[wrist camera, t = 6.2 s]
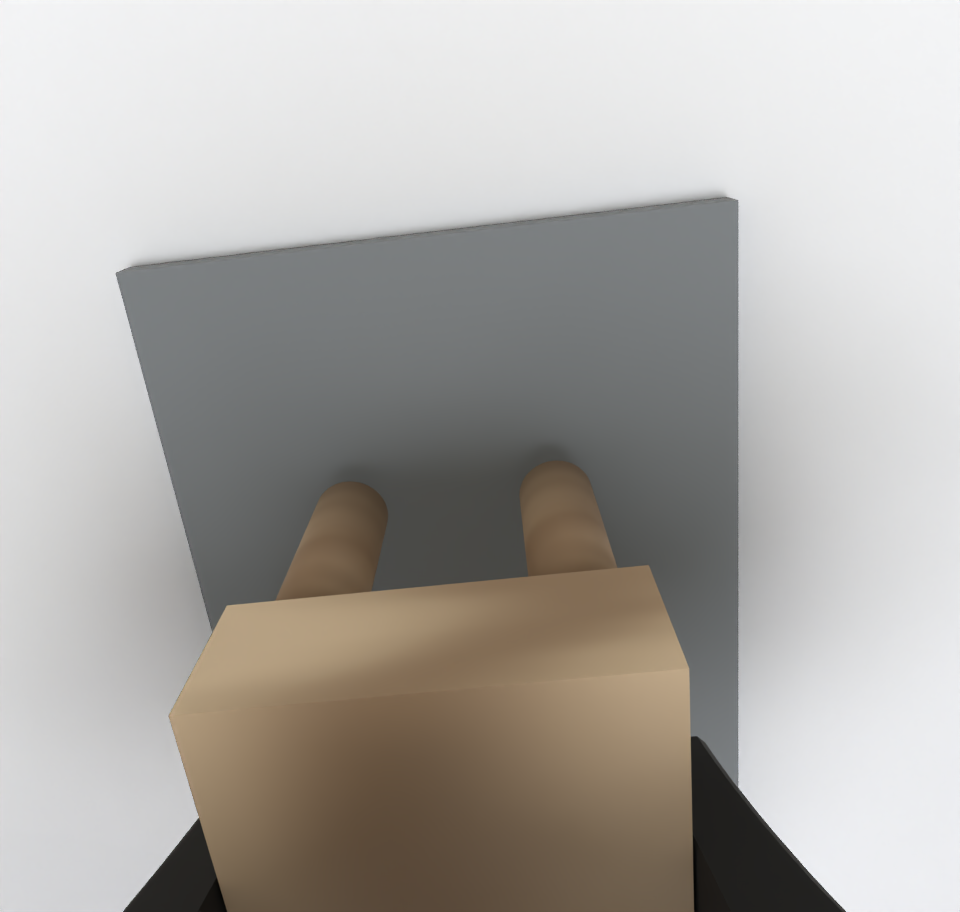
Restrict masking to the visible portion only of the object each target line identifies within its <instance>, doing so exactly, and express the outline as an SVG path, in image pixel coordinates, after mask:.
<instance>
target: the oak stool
mask: <svg viewBox="0 0 960 912" xmlns="http://www.w3.org/2000/svg"><path fill="white" fill-rule="evenodd" d="M519 497H520V507H521V516H522V525H523V533H524V542H525V551H526V560H527V569H528V577H519V578H508V579H498V580H487V581H477V582H467V583H456V584H446V585H435V586H425V587H414V588H404V589H394V590H383V591H373V592H371V591H372V587H373V582H374V578H375V574H376V569H377V565H378V561H379V556H380V552H381V548H382V543H383V539H384V535H385V530H386V526H387V522H388V510H387V506H386V504H385V502H384V500H383V498H382V497H381V495H380V494H379V493H378V492H377V491H375V490H374V489H373V488H371V487H370V486H368V485H365V484H363V483H359V482H352V481H349V482H341V483H338V484H335V485H333V486H331V487H330V488H328V489H327V490H326V491H325V492H324V493H323V494H322V495H321V497H320V498H319V500H318V503H317V505H316V507H315V510H314V512H313V514H312V517H311V519H310V521H309V524H308V526H307V528H306V530H305V533H304V535H303V537H302V540H301V542H300V544H299V547H298V549H297V551H296V554H295V556H294V558H293V561H292V563H291V565H290V568H289V570H288V572H287V575H286V577H285V579H284V581H283V584H282V586H281V588H280V591H279V593H278V595H277V598H276V600H275V601H268V602H258V603H247V604H237V605H227V606H226V608H225V610H224V612H223V614H222V616H221V618H220V619H219V621H218V623H217V625H216V627H215V629H214V631H213V633H212V635H211V637H210V638H209V640H208V642H207V644H206V646H205V648H204V650H203V652H202V654H201V655H200V657H199V659H198V661H197V663H196V665H195V667H194V669H193V671H192V672H191V674H190V676H189V678H188V680H187V682H186V684H185V686H184V688H183V689H182V691H181V693H180V695H179V697H178V699H177V701H176V703H175V705H174V707H173V708H172V710H171V712H170V714H169V719H170V722H171V726H172V729H173V732H174V736H175V739H176V742H177V746H178V749H179V752H180V756H181V759H182V762H183V766H184V769H185V772H186V776H187V779H188V782H189V786H190V789H191V792H192V796H193V799H194V802H195V806H196V809H197V812H198V816H199V819H200V822H201V826H202V829H203V832H204V836H205V839H206V842H207V846H208V849H209V852H210V856H211V859H212V862H213V866H214V869H215V872H216V876H217V879H218V882H219V886H220V889H221V893H222V896H223V899H224V903H225V906H226V909H227V912H694V882H693V832H692V782H691V732H690V681H689V667H688V664H687V661H686V659H685V656H684V654H683V651H682V649H681V646H680V644H679V641H678V638H677V636H676V633H675V631H674V628H673V626H672V623H671V621H670V618H669V615H668V613H667V610H666V608H665V605H664V603H663V600H662V598H661V595H660V592H659V590H658V587H657V585H656V582H655V580H654V577H653V575H652V572H651V569H650V567H649V565H644V566H634V567H623V568H617V565H616V562H615V559H614V555H613V552H612V549H611V546H610V543H609V540H608V537H607V533H606V530H605V527H604V524H603V521H602V518H601V514H600V511H599V508H598V505H597V502H596V499H595V496H594V492H593V489H592V486H591V483H590V480H589V478H588V477H587V475H586V474H585V473H584V471H583V470H581V469H580V468H579V467H577V466H576V465H574V464H572V463H569V462H565V461H548V462H545V463H542V464H540V465H538V466H536V467H535V468H533V469H532V470H531V471H530V472H529V473H528V474H527V475H526V476H525V478H524V480H523V481H522V484H521V487H520V493H519Z"/></svg>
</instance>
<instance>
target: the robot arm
mask: <svg viewBox="0 0 960 912" xmlns="http://www.w3.org/2000/svg"><path fill="white" fill-rule="evenodd" d="M691 782H692V832H693V882H694V912H846V911H845V910H844V909H843V908H842V907H841V906H840V905H839V904H838V903H837V902H836V901H835V900H834V899H833V898H832V897H831V895H830V894H829V893H828V892H827V891H826V890H825V889H824V888H823V887H822V886H821V885H820V884H819V883H818V881H817V880H816V879H815V878H814V877H813V876H812V875H811V874H810V873H809V872H808V871H807V869H806V868H805V867H804V866H803V865H802V864H801V863H800V861H799V860H798V859H797V858H796V857H795V856H794V855H793V853H792V852H791V851H790V850H789V849H788V848H787V847H786V845H785V844H784V843H783V842H782V841H781V840H780V839H779V837H778V836H777V835H776V834H775V833H774V832H773V831H772V829H771V828H770V827H769V826H768V825H767V823H766V822H765V821H764V820H763V819H762V817H761V816H760V815H759V814H758V812H757V811H756V810H755V809H754V807H753V806H752V805H751V804H750V802H749V801H748V800H747V799H746V797H745V796H744V795H743V794H742V792H741V791H740V790H739V788H738V787H737V786H736V784H735V783H734V782H733V781H732V779H731V778H730V777H729V775H728V774H727V773H726V771H725V770H724V768H723V767H722V766H721V764H720V763H719V762H718V760H717V759H716V757H715V756H714V755H713V753H712V752H711V750H710V749H709V747H708V746H707V744H706V743H705V742H704V741H703V740H701V739H700V738H699V737H698V736H692V737H691ZM123 912H227V909H226V906H225V903H224V899H223V896H222V893H221V889H220V886H219V882H218V879H217V876H216V872H215V869H214V866H213V862H212V859H211V856H210V852H209V849H208V846H207V842H206V839H205V836H204V832H203V829H202V826H201V822H200V819H199V818H198V819H197V821H196V822H195V823H194V825H193V826H192V827H191V828H190V830H189V831H188V832H187V833H186V835H185V836H184V837H183V839H182V840H181V841H180V842H179V844H178V845H177V846H176V847H175V849H174V850H173V851H172V852H171V854H170V855H169V856H168V857H167V859H166V860H165V861H164V862H163V864H162V865H161V866H160V867H159V869H158V870H157V871H156V872H155V873H154V875H153V876H152V877H151V878H150V879H149V881H148V882H147V883H146V884H145V886H144V887H143V888H142V889H141V890H140V892H139V893H138V894H137V895H136V896H135V898H134V899H133V900H132V901H131V902H130V904H129V905H128V906H127V907H126V908H125V910H124V911H123Z"/></svg>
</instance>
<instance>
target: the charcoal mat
mask: <svg viewBox="0 0 960 912" xmlns="http://www.w3.org/2000/svg"><path fill="white" fill-rule="evenodd" d="M116 276H117V280H118V284H119V287H120V291H121V295H122V298H123V302H124V306H125V310H126V313H127V317H128V321H129V324H130V328H131V332H132V336H133V339H134V343H135V347H136V350H137V354H138V358H139V361H140V365H141V369H142V373H143V376H144V380H145V384H146V387H147V391H148V395H149V399H150V402H151V406H152V410H153V413H154V417H155V421H156V425H157V428H158V432H159V436H160V439H161V443H162V447H163V450H164V454H165V458H166V462H167V465H168V469H169V473H170V476H171V480H172V484H173V488H174V491H175V495H176V499H177V502H178V506H179V510H180V514H181V517H182V521H183V525H184V528H185V532H186V536H187V540H188V543H189V547H190V551H191V554H192V558H193V562H194V565H195V569H196V573H197V577H198V580H199V584H200V588H201V591H202V595H203V599H204V603H205V606H206V610H207V614H208V617H209V621H210V625H211V629H212V632H213V631H214V629H215V627H216V625H217V623H218V621H219V619H220V618H221V616H222V614H223V612H224V610H225V608H226V606H227V605H237V604H247V603H258V602H268V601H275V600H276V598H277V595H278V593H279V591H280V588H281V586H282V584H283V581H284V579H285V577H286V575H287V572H288V570H289V568H290V565H291V563H292V561H293V558H294V556H295V554H296V551H297V549H298V547H299V544H300V542H301V540H302V537H303V535H304V533H305V530H306V528H307V526H308V524H309V521H310V519H311V517H312V514H313V512H314V510H315V507H316V505H317V503H318V500H319V498H320V497H321V495H322V494H323V493H324V492H325V491H326V490H327V489H328V488H330V487H331V486H333V485H335V484H338V483H341V482H349V481H352V482H359V483H363V484H365V485H368V486H370V487H371V488H373V489H374V490H375V491H377V492H378V493H379V494H380V495H381V497H382V498H383V500H384V502H385V504H386V506H387V510H388V522H387V526H386V530H385V535H384V539H383V543H382V548H381V552H380V556H379V561H378V565H377V569H376V574H375V578H374V582H373V587H372V591H371V592H373V591H383V590H394V589H404V588H414V587H425V586H435V585H446V584H456V583H467V582H477V581H487V580H498V579H508V578H519V577H528V569H527V560H526V551H525V542H524V533H523V525H522V516H521V507H520V497H519V493H520V487H521V484H522V481H523V480H524V478H525V476H526V475H527V474H528V473H529V472H530V471H531V470H532V469H533V468H535V467H536V466H538V465H540V464H542V463H545V462H548V461H565V462H569V463H572V464H574V465H576V466H577V467H579V468H580V469H581V470H583V471H584V473H585V474H586V475H587V477H588V478H589V480H590V483H591V486H592V489H593V492H594V496H595V499H596V502H597V505H598V508H599V511H600V514H601V518H602V521H603V524H604V527H605V530H606V533H607V537H608V540H609V543H610V546H611V549H612V552H613V555H614V559H615V562H616V565H617V568H623V567H634V566H644V565H649V567H650V569H651V572H652V575H653V577H654V580H655V582H656V585H657V587H658V590H659V592H660V595H661V598H662V600H663V603H664V605H665V608H666V610H667V613H668V615H669V618H670V621H671V623H672V626H673V628H674V631H675V633H676V636H677V638H678V641H679V644H680V646H681V649H682V651H683V654H684V656H685V659H686V661H687V664H688V667H689V681H690V732H691V737H692V736H698V737H699V738H700V739H701V740H703V741H704V742H705V743H706V744H707V746H708V747H709V749H710V750H711V752H712V753H713V755H714V756H715V757H716V759H717V760H718V762H719V763H720V764H721V766H722V767H723V768H724V770H725V771H726V773H727V774H728V775H729V777H730V778H731V779H732V781H733V782H734V783H735V784H736V786H737V787H738V200H735V199H732V198H728V197H726V198H718V199H709V200H701V201H692V202H684V203H675V204H666V205H658V206H649V207H641V208H632V209H624V210H615V211H607V212H598V213H589V214H581V215H572V216H564V217H555V218H547V219H538V220H530V221H521V222H512V223H504V224H495V225H487V226H478V227H470V228H461V229H453V230H444V231H435V232H427V233H418V234H410V235H401V236H393V237H384V238H376V239H367V240H358V241H350V242H341V243H333V244H324V245H316V246H307V247H299V248H290V249H281V250H273V251H264V252H256V253H247V254H239V255H230V256H222V257H213V258H204V259H196V260H187V261H179V262H170V263H162V264H153V265H145V266H136V267H129V268H127V269H124V270H122V271H119V272H117V273H116Z"/></svg>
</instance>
